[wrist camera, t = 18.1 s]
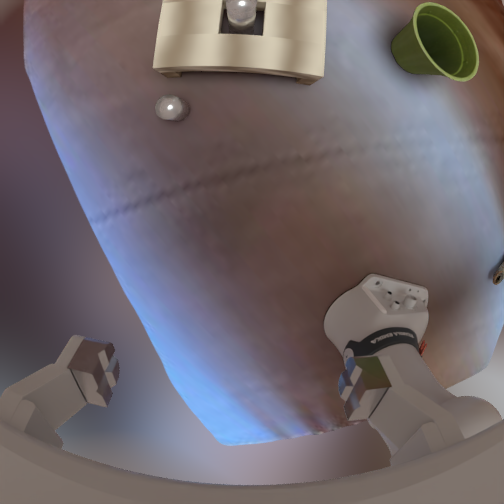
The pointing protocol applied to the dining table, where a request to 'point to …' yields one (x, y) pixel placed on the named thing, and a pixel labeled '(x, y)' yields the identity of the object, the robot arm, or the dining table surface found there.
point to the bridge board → (243, 40)
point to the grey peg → (241, 16)
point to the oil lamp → (499, 275)
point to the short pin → (172, 108)
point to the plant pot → (436, 44)
